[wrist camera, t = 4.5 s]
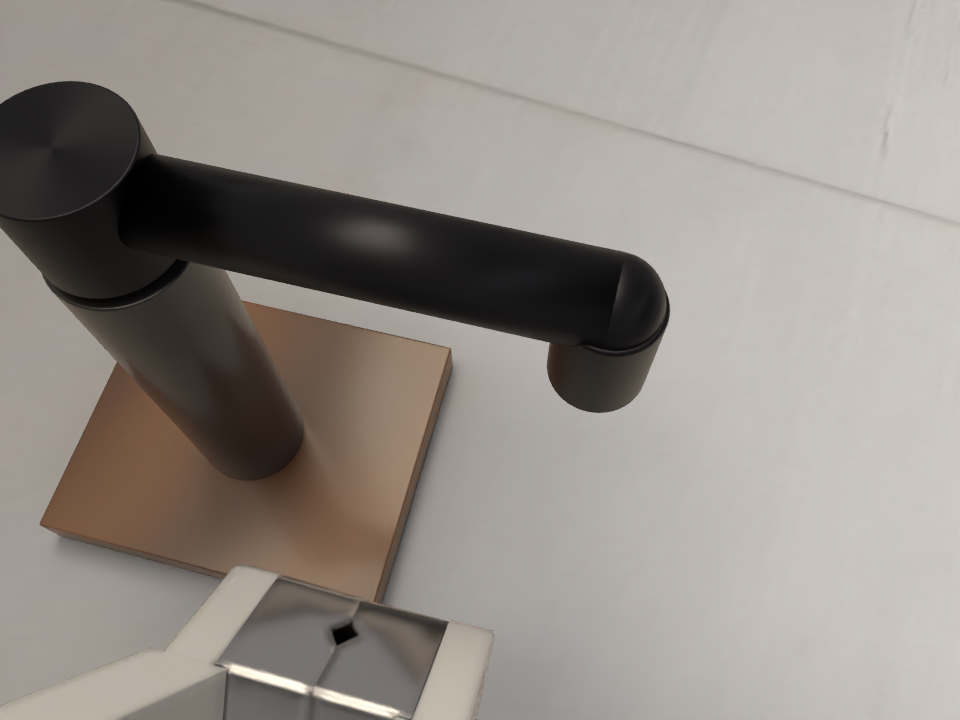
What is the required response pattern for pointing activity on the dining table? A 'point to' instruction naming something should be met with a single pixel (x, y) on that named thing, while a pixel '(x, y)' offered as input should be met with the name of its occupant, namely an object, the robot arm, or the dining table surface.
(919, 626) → the dining table surface
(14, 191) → the spout
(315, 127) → the dining table surface
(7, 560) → the dining table surface
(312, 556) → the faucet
